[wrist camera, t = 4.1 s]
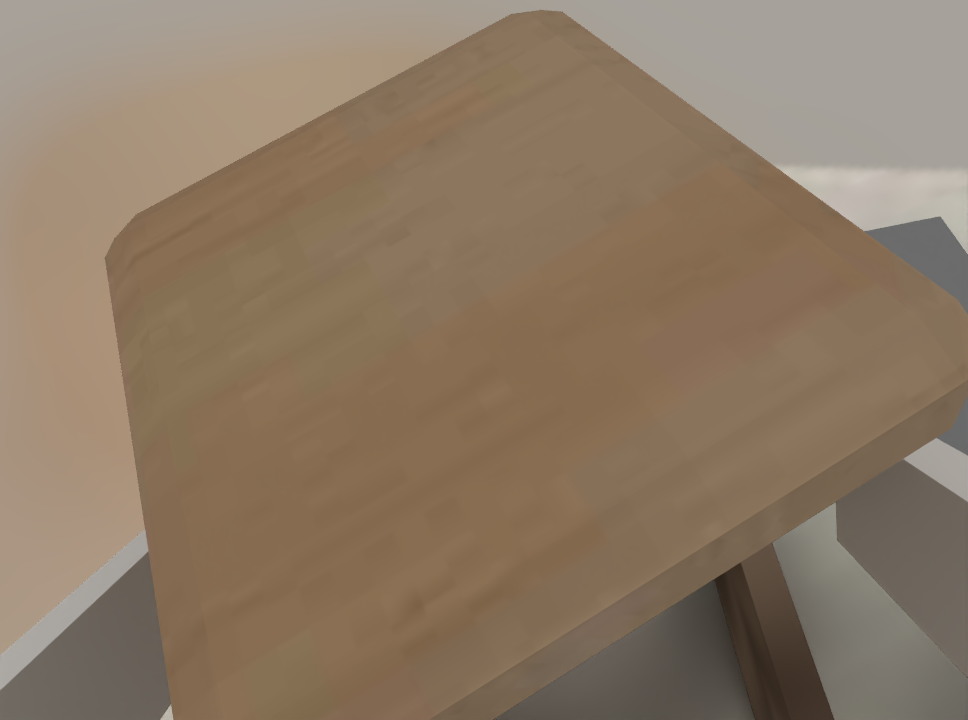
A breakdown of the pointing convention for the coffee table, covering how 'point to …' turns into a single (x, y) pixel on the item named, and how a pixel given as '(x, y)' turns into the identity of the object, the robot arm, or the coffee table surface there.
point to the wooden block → (494, 381)
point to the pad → (934, 280)
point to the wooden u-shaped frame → (771, 641)
